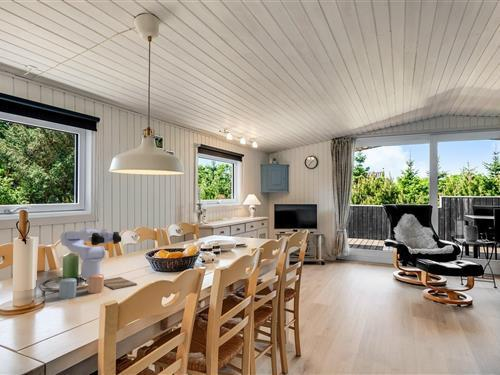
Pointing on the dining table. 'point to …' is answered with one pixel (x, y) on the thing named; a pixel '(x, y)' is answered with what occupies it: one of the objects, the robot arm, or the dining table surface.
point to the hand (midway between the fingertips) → (112, 239)
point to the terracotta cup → (95, 283)
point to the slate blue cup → (67, 288)
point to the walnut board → (118, 283)
